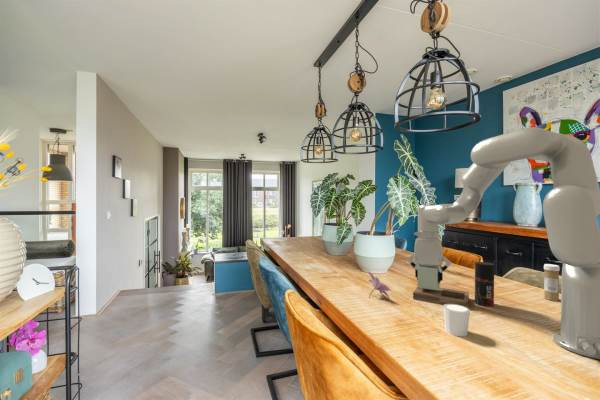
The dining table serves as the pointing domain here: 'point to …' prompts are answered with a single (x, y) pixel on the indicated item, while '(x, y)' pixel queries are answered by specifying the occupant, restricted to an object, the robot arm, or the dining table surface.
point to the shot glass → (456, 319)
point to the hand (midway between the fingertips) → (428, 280)
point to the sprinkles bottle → (551, 282)
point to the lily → (378, 285)
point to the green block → (428, 277)
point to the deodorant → (484, 284)
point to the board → (442, 296)
